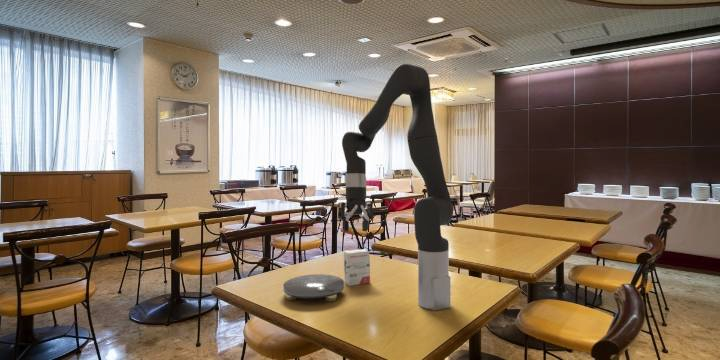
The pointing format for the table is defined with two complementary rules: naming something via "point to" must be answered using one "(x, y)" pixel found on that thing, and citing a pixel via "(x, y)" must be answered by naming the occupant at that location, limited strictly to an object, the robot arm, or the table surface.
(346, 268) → the ink box
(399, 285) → the table surface
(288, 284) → the base
